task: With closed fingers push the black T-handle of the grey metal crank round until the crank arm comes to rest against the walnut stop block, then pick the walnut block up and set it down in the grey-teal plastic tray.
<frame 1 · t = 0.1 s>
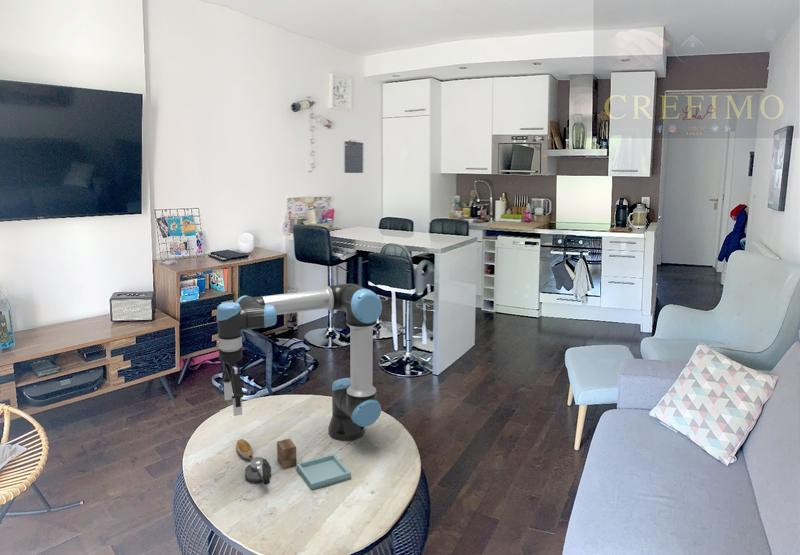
hand: (233, 407, 194), 28 cm above the table, fingers open, 13 cm apart
stop block: (287, 463, 211), on the table
crank: (261, 464, 197), point 7 cm above the table, hinge at 0.0°
crank base: (258, 476, 202), on the table
tray: (323, 474, 204), on the table
stone: (244, 454, 217), on the table
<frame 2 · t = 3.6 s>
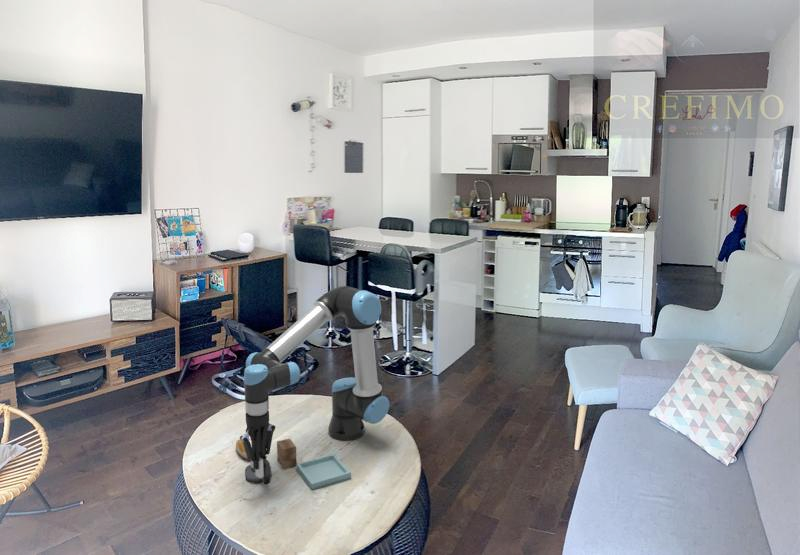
hand: (259, 476, 190), 7 cm above the table, fingers closed
crank: (261, 464, 197), point 7 cm above the table, hinge at 0.7°, touching gripper
everything else where it was.
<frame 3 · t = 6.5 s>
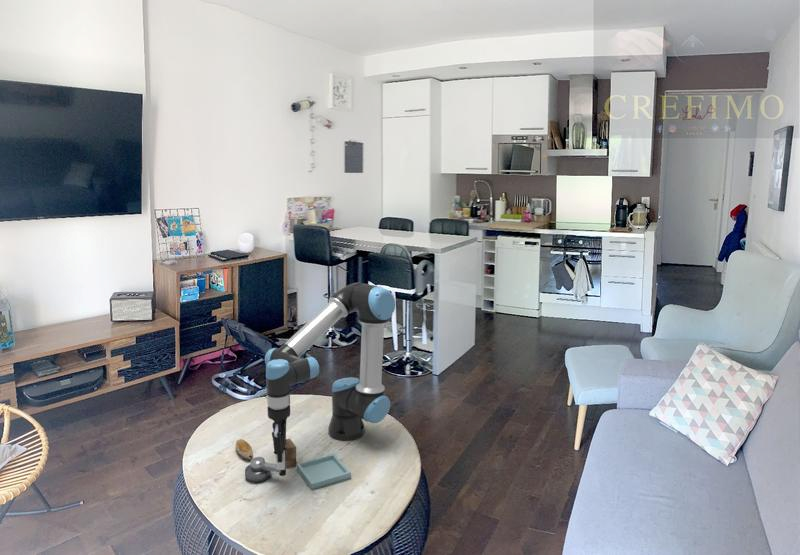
hand: (281, 468, 195), 7 cm above the table, fingers closed
crank: (268, 460, 199), point 7 cm above the table, hinge at 41.0°, touching gripper
everything else where it was.
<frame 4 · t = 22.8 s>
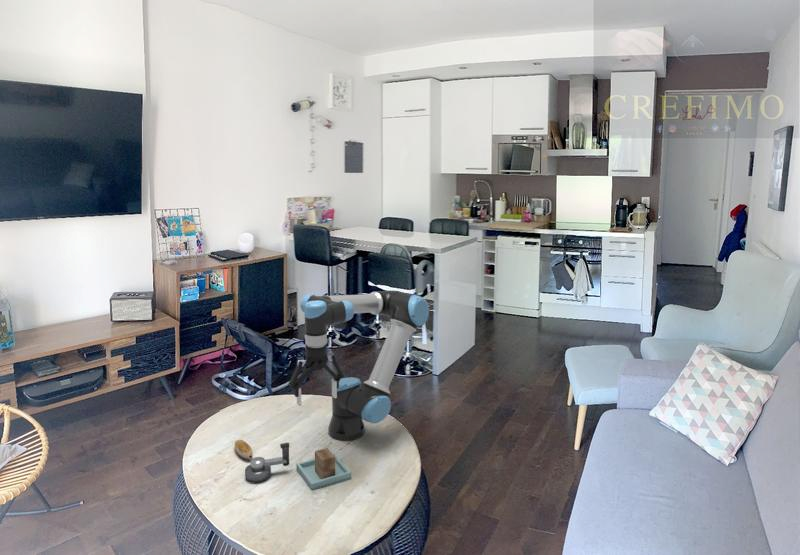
hand: (317, 400, 203), 27 cm above the table, fingers open, 13 cm apart
stop block: (325, 474, 203), point 1 cm above the table, touching tray
crank: (270, 456, 202), point 7 cm above the table, hinge at 79.6°
everything else where it was.
at the end: crank at +80° (first picture: +0°); stop block 1.5 cm from the tray (horizontally); stop block point 0.8 cm above the table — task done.
